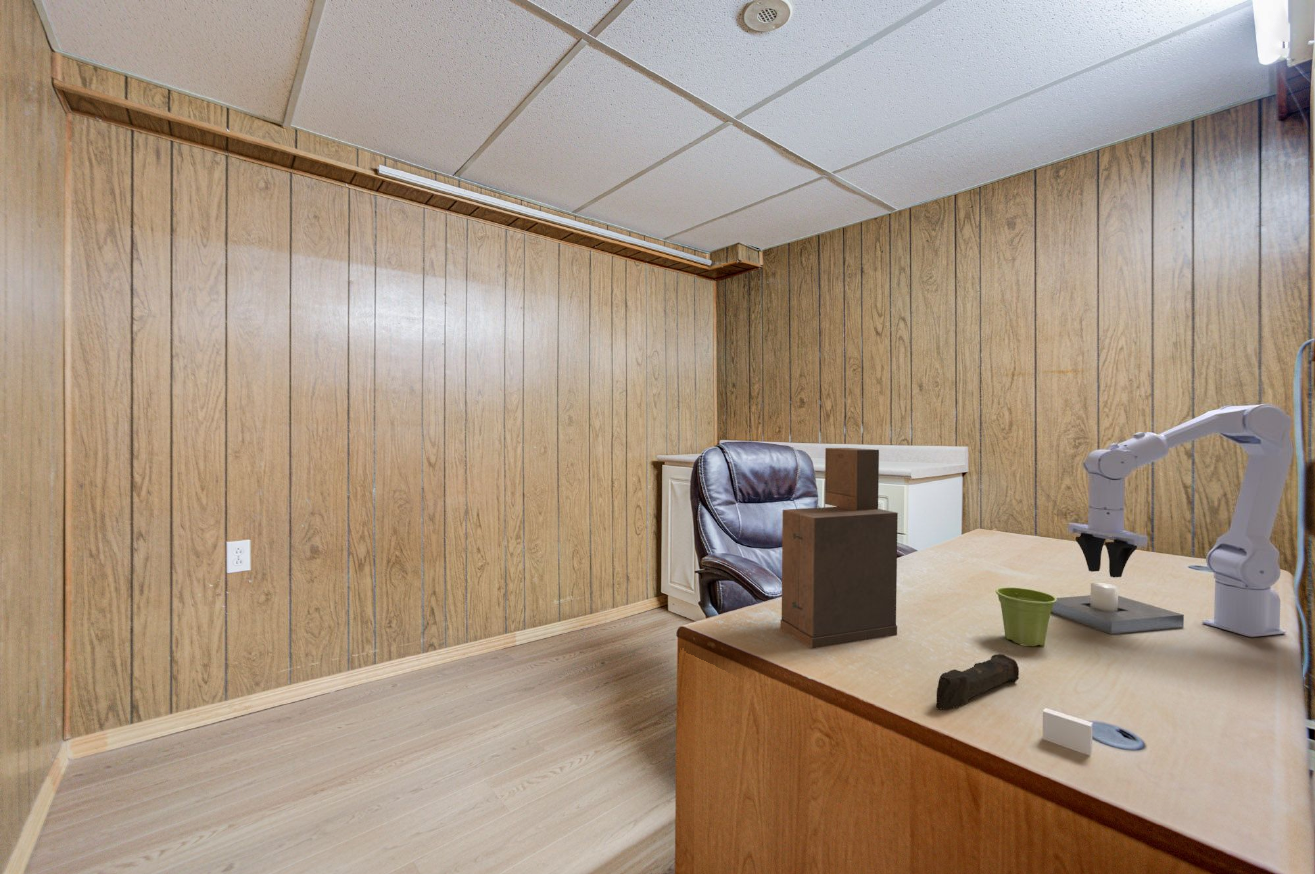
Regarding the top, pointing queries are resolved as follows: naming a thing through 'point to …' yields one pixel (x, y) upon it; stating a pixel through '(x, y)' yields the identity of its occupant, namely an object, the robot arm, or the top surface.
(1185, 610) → the top surface
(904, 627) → the top surface
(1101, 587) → the white rounded cylinder
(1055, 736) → the eraser
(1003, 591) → the plant pot
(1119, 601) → the plate
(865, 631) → the stacked wooden boxes
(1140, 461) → the robot arm
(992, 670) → the dark brown ridged bar
